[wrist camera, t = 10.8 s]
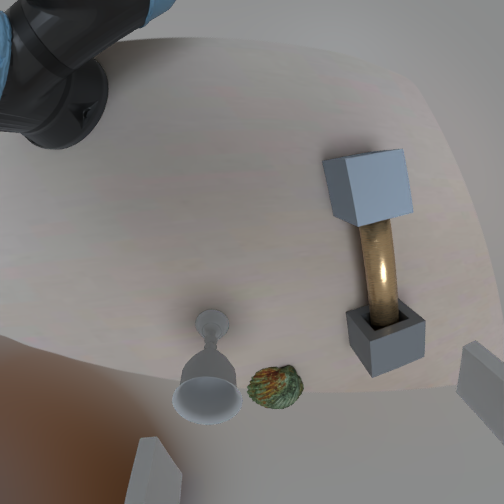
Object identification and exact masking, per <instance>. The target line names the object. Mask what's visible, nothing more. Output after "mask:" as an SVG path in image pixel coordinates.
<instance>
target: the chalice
mask: <svg viewBox="0 0 504 504" xmlns="http://www.w3.org/2000/svg"><path fill="white" fill-rule="evenodd" d="M195 326H196V329H197V331H198V332H199V334H200V335H201V336H202V337H203V338H204V339H205V340H204V341H205V343H206V344H205V346H204V348H205V349H204V350H202V351H200V352H199V353H197V354H195V355H194V356H193V357H192V358H191V359H190V360H189V361H188V362H187V363H186V365H185V366H184V368H183V370H182V376H181V381H180V386H179V387H177V388H176V390H175V392H174V394H173V400H172V403H173V406H174V408H175V410H176V411H177V412H178V413H179V414H180V415H181V417H184V418H185V419H187V420H188V421H190V422H194V423H197V424H205V425H212V424H219V423H222V422H225V421H227V420H230V419H231V418H233V417H234V416H235V415H237V413H238V412H239V410H240V409H241V406H242V402H243V400H242V396H241V393H240V391H239V390H238V389H237V386H236V373H235V369H234V367H233V366H232V364H231V363H230V362H229V360H228V359H227V358H226V356H224V355H223V354H222V353H220V352H219V351H217V350H216V349H217V346H216V344H217V341H218V339H220V338H221V337H222V336H223V335H225V334H226V333H227V331H228V329H229V321H228V319H227V317H226V315H224V314H223V313H222V312H220V311H218V310H206V311H204V312H202V313H200V315H199V316H198V317H197V319H196V324H195Z"/></svg>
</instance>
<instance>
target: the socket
mask: <svg viewBox="0 0 504 504" xmlns="http://www.w3.org/2000/svg"><path fill="white" fill-rule="evenodd" d="M398 309H399V323H396V324H393V325H391V326H388V327H385V328H382V329H380V330H377V331H374V330H373V329H372V328H371V321H370V310H369V305H367V306H364V307H361V308H358V309H354V310H351V311H348V312H346V316H347V324H348V332H349V341H350V346H351V348H352V349H353V350H354V352H355V353H356V355H357V356H358V358H359V359H360V361H361V362H362V364H363V365H364V367H365V368H366V370H367V371H368V373H369V374H370V375H371V377H372V378H373V377H376V376H378V375H381V374H383V373H386V372H389V371H391V370H394V369H396V368H399V367H401V366H404V365H406V364H408V363H411V362H413V361H415V360H418V359H420V358H422V357H424V353H425V320H424V319H423V318H422V317H421V316H419V315H418V314H417V313H416V312H414V311H413V310H412V309H411V308H409V307H408V306H407V305H406V304H404V303H403V302H402V301H401V300H399V299H398Z"/></svg>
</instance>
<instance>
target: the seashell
mask: <svg viewBox="0 0 504 504" xmlns="http://www.w3.org/2000/svg"><path fill="white" fill-rule="evenodd" d="M250 383H251V384H250V385H248V386H247V388H248V391H247V393H248V394H249V397H250V398H252V400H253V401H255V402H256V403H257V404H260V405H261V406H264V407H265V408H272V409H284V408H286V407H289V406H290V405H292V404H294V402H295V401H296V400H297V399H298V398H299V396H300V395H301V394H302V391H303V389H304V387H303V383H302V381H301V378H300V376H298V375H297V373H296V371H295V369H294V368H293V367H292V366H290V365H289V366H286V367H282V368H278V367H269V368H265V369H262V370H260V371H258V372H256V374H255V376H253V377H252V380H251V381H250Z"/></svg>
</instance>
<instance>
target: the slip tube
mask: <svg viewBox="0 0 504 504" xmlns="http://www.w3.org/2000/svg"><path fill="white" fill-rule="evenodd" d="M359 231H360V238H361V245H362V251H363V259H364V266H365V274H366V282H367V291H368V300H369V310H370V321H371V328H372V329H373V330H374V331H377V330H380V329H382V328H385V327H388V326H391V325H393V324H396V323H399V309H398V292H397V278H396V267H395V256H394V247H393V238H392V230H391V223H390V219H386V220H382V221H378V222H375V223H371V224H367V225H363V226H359Z"/></svg>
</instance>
